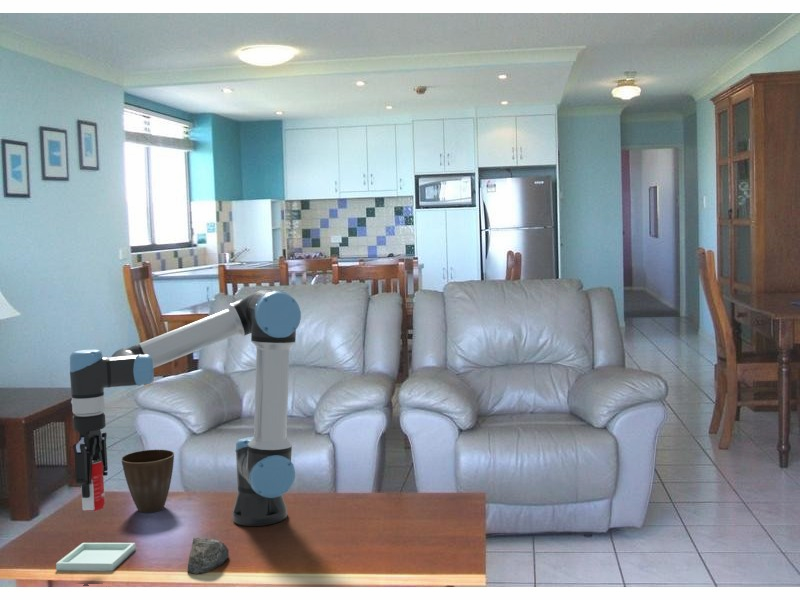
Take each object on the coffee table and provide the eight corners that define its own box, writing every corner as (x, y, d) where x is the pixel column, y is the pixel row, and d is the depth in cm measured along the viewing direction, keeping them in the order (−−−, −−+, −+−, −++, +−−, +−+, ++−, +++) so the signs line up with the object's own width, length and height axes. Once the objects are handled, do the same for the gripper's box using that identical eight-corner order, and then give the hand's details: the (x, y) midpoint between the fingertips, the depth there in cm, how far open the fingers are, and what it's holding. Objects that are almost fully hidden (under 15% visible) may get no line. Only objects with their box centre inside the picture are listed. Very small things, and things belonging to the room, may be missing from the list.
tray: (135, 549, 220) (135, 542, 220) (112, 570, 206) (112, 563, 206) (83, 549, 221) (82, 542, 221) (56, 570, 208) (56, 563, 207)
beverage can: (97, 512, 210) (94, 464, 209) (78, 511, 211) (75, 463, 210) (108, 505, 215) (106, 458, 214) (90, 505, 216) (87, 458, 215)
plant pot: (168, 516, 246) (166, 461, 245) (117, 517, 246) (113, 463, 245) (182, 500, 261) (180, 448, 260) (133, 502, 261) (130, 450, 260)
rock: (197, 553, 216) (196, 528, 215) (232, 553, 216) (231, 527, 215) (185, 575, 202) (184, 548, 202) (222, 574, 202) (221, 547, 202)
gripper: (90, 406, 221) (95, 495, 222) (56, 421, 203) (61, 517, 204) (118, 405, 220) (123, 495, 222) (86, 420, 202) (92, 517, 203)
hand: (93, 505), depth 213 cm, fingers closed on beverage can, 5 cm apart
